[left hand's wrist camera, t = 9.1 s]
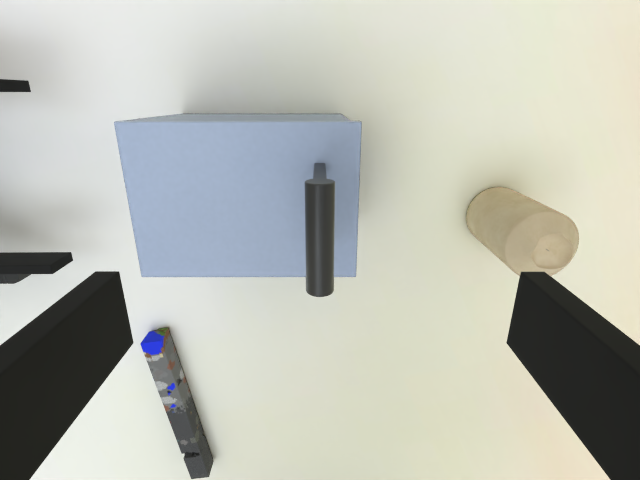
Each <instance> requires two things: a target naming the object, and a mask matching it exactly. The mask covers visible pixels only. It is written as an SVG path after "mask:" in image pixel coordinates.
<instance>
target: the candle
mask: <svg viewBox="0 0 640 480" xmlns="http://www.w3.org/2000/svg"><path fill="white" fill-rule="evenodd" d="M466 221H467V225H468V228H469V230H470V232H471V233H472V234H473V235H474V236H475V237H476V238H477V239H478V240H479V241H480V242H481V243H482V244H483V245H485V246H486V247H487V248H488V249H489V250H490V251H491V252H492V253H493V254H495V255H496V256H497V257H498V258H499V259H500V260H501V261H502V262H503V263H505V264H506V265H507V266H508V267H509V268H510V269H511V270H512V271H514V272H515V273H516V274H518V275H519V276H520V274H521V272H546V273H547V274H548V275H549V276H551V275H553V274H556V273H557V272H559V271H560V270H562V269H563V268H564V267H565V266H566V265H567V264H568V263H569V262H570V261H571V260H572V258H573V257H574V255H575V253H576V251H577V248H578V243H579V234H578V230H577V227H576V225H575V224H574V222H573V221H572V220H571V219H570V218H569V217H567V216H566V215H564V214H562V213H560V212H558V211H556V210H553V209H551V208H549V207H547V206H545V205H543V204H541V203H539V202H537V201H535V200H533V199H531V198H528V197H526V196H524V195H522V194H520V193H518V192H516V191H514V190H511V189H509V188H504V187H494V188H490V189H487V190H485V191H483V192H481V193H480V194H478V195H477V196H476V197H475V198H474V199H473V201H472V202H471V203H470V205H469V207H468V210H467V215H466Z"/></svg>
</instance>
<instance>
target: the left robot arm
mask: <svg viewBox="0 0 640 480" xmlns="http://www.w3.org/2000/svg"><path fill="white" fill-rule="evenodd" d="M132 344H133V339H132V334H131V329H130V324H129V319H128V314H127V309H126V304H125V299H124V294H123V289H122V284H121V279H120V274H119V272H94V273H93V274H92V275H91V276H89V277H88V278H87V279H85V280H84V281H83V282H82V283H80V284H79V285H78V286H76V287H75V288H74V289H73V290H71V291H70V292H69V293H67V294H66V295H65V296H64V297H62V298H61V299H60V300H58V301H57V302H56V303H55V304H53V305H52V306H51V307H49V308H48V309H47V310H46V311H44V312H43V313H42V314H40V315H39V316H38V317H36V318H35V319H34V320H33V321H31V322H30V323H29V324H27V325H26V326H25V327H24V328H22V329H21V330H20V331H18V332H17V333H16V334H15V335H13V336H12V337H11V338H9V339H8V340H7V341H6V342H4V343H3V344H2V345H0V480H29V479H30V478H31V477H32V475H33V474H34V473H35V472H36V470H37V469H38V468H39V466H40V465H41V464H42V462H43V461H44V460H45V458H46V457H47V456H48V454H49V453H50V452H51V451H52V449H53V448H54V447H55V445H56V444H57V443H58V441H59V440H60V439H61V437H62V436H63V435H64V433H65V432H66V431H67V429H68V428H69V427H70V426H71V424H72V423H73V422H74V420H75V419H76V418H77V416H78V415H79V414H80V412H81V411H82V410H83V408H84V407H85V406H86V404H87V403H88V402H89V401H90V399H91V398H92V397H93V395H94V394H95V393H96V391H97V390H98V389H99V387H100V386H101V385H102V383H103V382H104V381H105V380H106V378H107V377H108V376H109V374H110V373H111V372H112V370H113V369H114V368H115V366H116V365H117V364H118V362H119V361H120V360H121V358H122V357H123V356H124V355H125V353H126V352H127V351H128V349H129V348H130V347H131V345H132ZM507 344H508V345H509V347H510V348H511V349H512V351H513V352H514V353H515V355H516V356H517V357H518V358H519V360H520V361H521V362H522V364H523V365H524V366H525V368H526V369H527V370H528V372H529V373H530V374H531V376H532V377H533V378H534V380H535V381H536V382H537V383H538V385H539V386H540V387H541V389H542V390H543V391H544V393H545V394H546V395H547V397H548V398H549V399H550V401H551V402H552V403H553V405H554V406H555V407H556V408H557V410H558V411H559V412H560V414H561V415H562V416H563V418H564V419H565V420H566V422H567V423H568V424H569V426H570V427H571V428H572V429H573V431H574V432H575V433H576V435H577V436H578V437H579V439H580V440H581V441H582V443H583V444H584V445H585V447H586V448H587V449H588V451H589V452H590V453H591V454H592V456H593V457H594V458H595V460H596V461H597V462H598V464H599V465H600V466H601V468H602V469H603V470H604V472H605V473H606V474H607V475H608V477H609V478H610V479H611V480H640V345H638V344H637V343H636V342H634V341H633V340H632V339H631V338H629V337H628V336H627V335H625V334H624V333H623V332H622V331H620V330H619V329H618V328H616V327H615V326H614V325H613V324H611V323H610V322H609V321H607V320H606V319H605V318H604V317H602V316H601V315H600V314H598V313H597V312H596V311H594V310H593V309H592V308H591V307H589V306H588V305H587V304H585V303H584V302H583V301H582V300H580V299H579V298H578V297H576V296H575V295H574V294H573V293H571V292H570V291H569V290H567V289H566V288H565V287H564V286H562V285H561V284H560V283H558V282H557V281H556V280H555V279H553V278H552V277H551V276H549V275H548V274H547V273H546V272H521V274H520V279H519V284H518V289H517V294H516V299H515V304H514V309H513V314H512V319H511V324H510V329H509V334H508V339H507Z"/></svg>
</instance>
